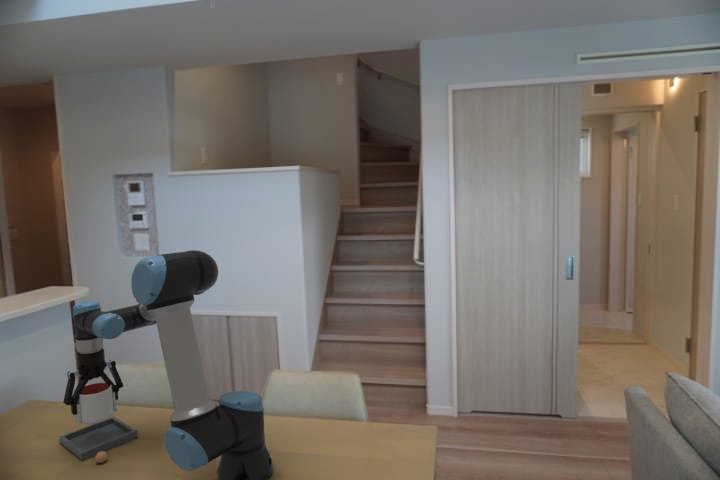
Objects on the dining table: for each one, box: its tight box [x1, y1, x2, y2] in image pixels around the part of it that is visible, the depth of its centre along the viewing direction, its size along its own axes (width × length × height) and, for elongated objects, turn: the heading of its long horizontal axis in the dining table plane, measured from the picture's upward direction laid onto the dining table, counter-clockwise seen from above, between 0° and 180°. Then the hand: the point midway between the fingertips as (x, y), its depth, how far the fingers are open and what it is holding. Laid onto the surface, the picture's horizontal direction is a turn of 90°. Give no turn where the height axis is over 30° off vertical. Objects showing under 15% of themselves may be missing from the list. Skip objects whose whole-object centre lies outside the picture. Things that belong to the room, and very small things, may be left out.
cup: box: [77, 382, 115, 425], centre depth 155 cm, size 10×10×10 cm
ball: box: [94, 451, 108, 464], centre depth 143 cm, size 3×3×3 cm
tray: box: [58, 415, 138, 462], centre depth 156 cm, size 17×17×2 cm
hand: (96, 416), depth 155 cm, fingers closed on cup, 10 cm apart
